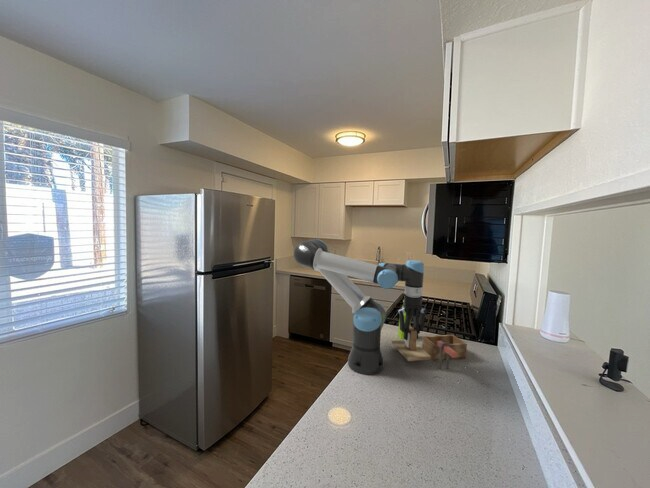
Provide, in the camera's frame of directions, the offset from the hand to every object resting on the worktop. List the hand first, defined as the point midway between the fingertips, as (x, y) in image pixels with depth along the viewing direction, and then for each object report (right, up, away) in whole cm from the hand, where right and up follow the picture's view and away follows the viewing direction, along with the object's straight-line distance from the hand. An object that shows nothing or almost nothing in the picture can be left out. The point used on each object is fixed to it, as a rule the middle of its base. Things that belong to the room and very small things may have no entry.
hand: (410, 345), depth 124 cm
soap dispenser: (+4, -4, +23) cm, 23 cm away
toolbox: (+17, -6, +1) cm, 18 cm away
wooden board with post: (0, -2, 0) cm, 2 cm away
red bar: (+12, +2, -10) cm, 16 cm away
